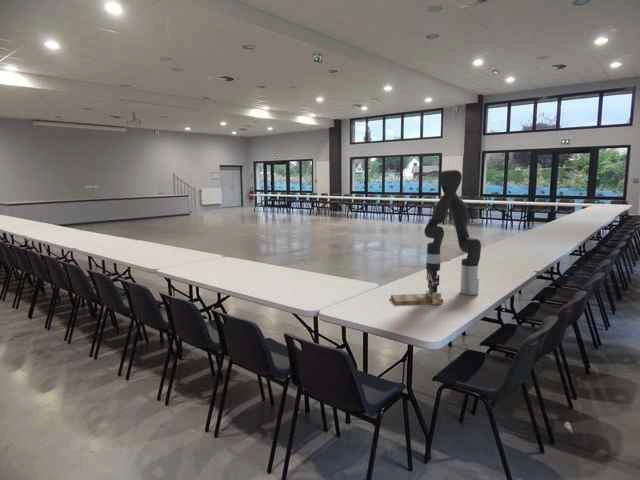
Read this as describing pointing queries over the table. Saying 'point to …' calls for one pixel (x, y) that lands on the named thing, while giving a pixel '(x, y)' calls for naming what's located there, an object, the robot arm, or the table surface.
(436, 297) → the cream flanged bar
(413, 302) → the board
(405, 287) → the table surface
